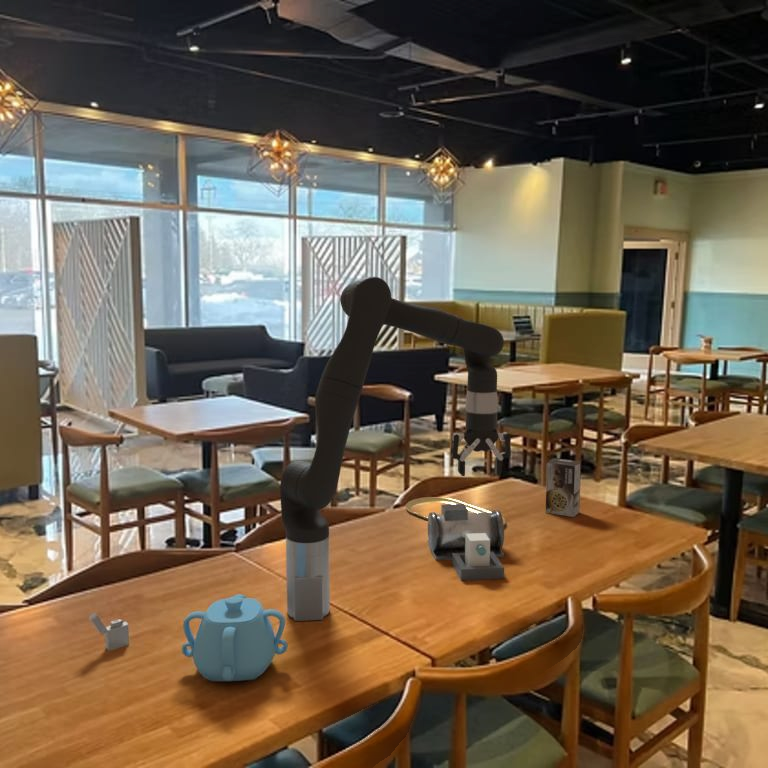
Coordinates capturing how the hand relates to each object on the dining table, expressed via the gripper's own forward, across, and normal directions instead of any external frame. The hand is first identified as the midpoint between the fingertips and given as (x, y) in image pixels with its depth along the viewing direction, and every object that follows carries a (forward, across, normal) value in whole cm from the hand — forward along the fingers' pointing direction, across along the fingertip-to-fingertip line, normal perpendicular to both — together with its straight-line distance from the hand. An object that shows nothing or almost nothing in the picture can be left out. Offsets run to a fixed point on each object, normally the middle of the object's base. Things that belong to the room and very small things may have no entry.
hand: (479, 475), depth 183 cm
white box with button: (+24, 0, -1) cm, 24 cm away
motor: (+24, 0, +14) cm, 28 cm away
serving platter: (+25, +3, +42) cm, 49 cm away
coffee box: (+24, +37, +42) cm, 61 cm away
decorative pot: (+25, -56, -40) cm, 73 cm away
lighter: (+25, -81, -30) cm, 90 cm away
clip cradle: (+24, 0, +1) cm, 25 cm away
